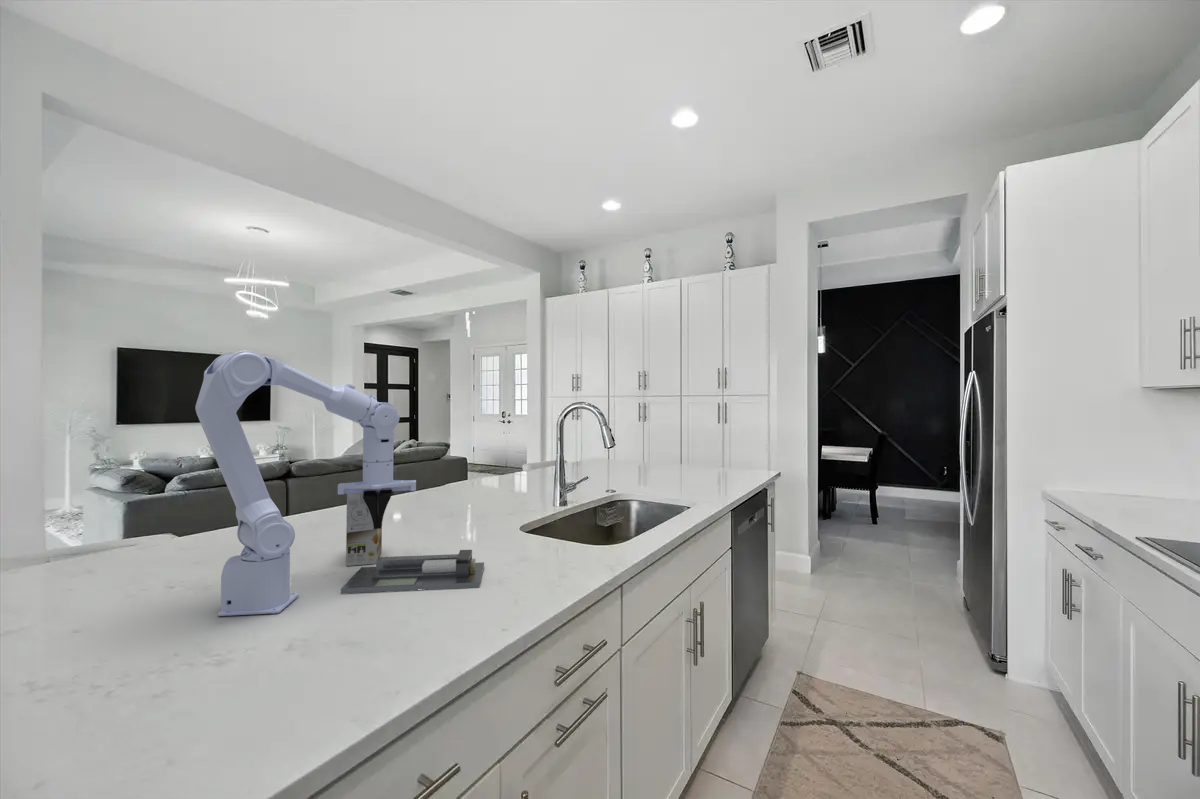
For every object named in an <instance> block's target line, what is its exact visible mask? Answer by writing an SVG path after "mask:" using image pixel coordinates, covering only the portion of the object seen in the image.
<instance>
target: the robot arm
mask: <svg viewBox="0 0 1200 799" xmlns="http://www.w3.org/2000/svg"><path fill="white" fill-rule="evenodd" d="M262 386H281V387H284V388H287V389H288V390H291V391H295V392H296V393H299V394H302V395H304V396H307V397H310V398H313V399H315V400H318V401H320V402H322V403H323V405H324V407H325V409H326V411H327V412H329V413H332V414H335V415H337V416H339V417H341V418H344V419H347V420H349V421H351V422H355V423H357V424H359V426H361V428H363V429H362V431H363V434H362V437H363V438H362V481H356V482H345V483H344V482H340V483H339V484H337V495H339V496H340V495H345V494H346V495H347V493H363V499H364V501H365V503H366V505H367V507H368V509H369V511H370V514H371V517H372V521H373V526H374V529H380V528H382V529H383V522H384V515H385V512H386V509H387V507H388V504H389V502H390V500H391V498H392V495H393V492H402V491H404V492H405V491H410V492H413V491H416V490H417V480H416V479H413V480H412V479H411V480H408V479H407V480H405V479H404V480H403V479H402V480H399V479H396V480H395V479H394V443H395V442H394V439H395V438H394V436H395V429H396V427H397V426H398V424H399V422H400V418H401V416H400V415H399V414H398V411H397V409H396V408H395V406H394V405H393V404H392V403H389V402H386V401H385V402H384V401H383V402H382V401H381V402H379V401H378V400H377V399H378V398H377V396H375V395H374V394H372V395H367V394H365V393H363V392H361V391H359V390H357V389H356V386H355V385H353V384H352V383H346V384H343V383H339V384H337V385H334V386H331V385H329V384H327V383H326V382H323V381H321V380H320V379H317V378H315V377H313V376H311V375H309V374H307V373H305V372H303V371H300V370H298V369H297V368H294V367H293V366H290V365H289V364H286V363H285V362H282V361H280V360H278V359H275V358H272V357H269V356H263V355H262V354H260V353H258V352H257V351H256V352H255V351H254V350H253V351H252V350H238V351H237V352H233V353H232V352H230V353H225V354H221V355H219V356H218V357H216V358H215V359H214V360H213V361H212V363H211V364H209V366H208V367H207V368H206V369H205V370H204V372H203V380H202V384H201V388H200V390H199V392H198V393H199V394H198V397H197V399H196V403H195V408H194V409H195V412H196V416H197V417H198V420H199V423H200V425H201V427H202V430H203V433H204V435H205V437H206V439H207V441H208V445H209V446H210V449H211V451H212V454H213V456H214V459H215V461H216V463H217V465H218V468H219V470H220V472H221V475H222V478H223V479H224V482H225V484H226V487H227V489H228V492H229V493H230V496H231V498H232V500H233V503H234V506H235V516H236V519H237V520H236V521H237V524H238V526H237V533H236V535H237V536H236V537H237V539H238V541H239V542H240V543H241V544H242V545H243V549H242V550H241V553H240V555H232V556H230V557H229V558H228V559H227V561H225V563H224V565H223V568H222V572H221V575H220V611H219V612H218V613H217V616H219V617H220V616H221V617H223V616H226V617H227V616H244V615H245V616H246V615H262V614H264V615H267V614H279V613H281V612H282V611H283V610H285V609H286V607H288V606H290V604H292V602H294V600H296V599H298V597H299V596H300V593H299V592H291V591H290V590H291V587H290V586H291V585H290V584H291V582H290V581H291V580H290V579H291V578H290V577H291V575H290V574H291V547H292V545H293V544H294V541H295V538H296V537H295V536H296V533H295V532H296V531H295V529H294V527H293V525H292V524H291V523H290V522H288V521H287V520H286V519H285V518H284V517H283V516H282V513H281V511H280V509H279V508H278V507H277V505H276V504H275V503H274V501H273V500H272V498H271V496H270V493H269V491H268V489H267V487H266V484H265V482H264V479H263V477H262V474H261V471H260V468H259V466H258V464H257V461H256V459H255V456H254V454H253V451H252V449H251V446H250V444H249V442H248V439H247V437H246V434H245V431H244V429H243V427H242V424H241V421H240V420H239V416H238V414H237V412H238V410H239V409H240V408H241V407H242V405H243V403H244V402H245V401H246V399H247V397H248V396H249V395H251V394H252V393H253V392H255V391H257V389H259V388H260V387H262ZM368 489H369V490H368ZM378 492H379V494H378Z"/></svg>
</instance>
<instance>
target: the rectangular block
mask: <svg viewBox="0 0 1200 799" xmlns="http://www.w3.org/2000/svg"><path fill="white" fill-rule="evenodd" d="M475 563H476V558H472V559H470V561H469V574H474V572H475ZM446 573H456V559H450V560H425V561H424V563H423V565H422V574H446Z"/></svg>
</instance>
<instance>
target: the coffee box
mask: <svg viewBox="0 0 1200 799" xmlns="http://www.w3.org/2000/svg"><path fill="white" fill-rule="evenodd" d="M368 490H369V489H368ZM378 494H379V492H378ZM345 529H346V532H345V533H346V542H345V544H346V545H345V546H346V547H345V551H346V552H345V553H346V554H345V566H347V567H353V566H354V567H355V566H364V565H376V560H377V559H378V558H379V557H381V553H382V550H383V549H382V548H383V544H382V543H383V535H382V534H383V527H382V528H380V529H374V526H373V521H372V517H371V514H370V511H369V509H368V507H367V505H366V503H365V501H364V499H363V493H347V494H346V528H345Z"/></svg>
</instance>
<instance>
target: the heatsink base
mask: <svg viewBox="0 0 1200 799" xmlns="http://www.w3.org/2000/svg"><path fill="white" fill-rule="evenodd" d="M450 559H456V573H446V574H422V565H423V563H424V561H425V560H450ZM470 559H473V549H460V550H459V552H458V553H455V554H431V555H429V554H428V555H425V554H424V555H422V554H421V555H402V556H401V555H400V556H396V555H395V556H380V557H379V558H378V559H377V560H376V564H375V566H362V567H360V568H359V569H358V570H357V571H356V572H355V573H354V574H353V575H352V576H351V577H350V579H349V580H348V581H347V582H346V583H345V584H344V585H343V586H341V588H340V595H343V594H342V593H351V594H361V593H360V592H373V593H383V592H382V591H394V592H403V591H402V590H416V591H419V590H418V589H437V590H452V589H451V588H458V589H473V588H474V589H478V588H480V585H481V582H482V577H483V573H484V570H483V569H485V562H475V572H474V574H469V561H470ZM445 588H446V589H445ZM449 588H450V589H449ZM400 590H401V591H400ZM358 592H359V593H358Z"/></svg>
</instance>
